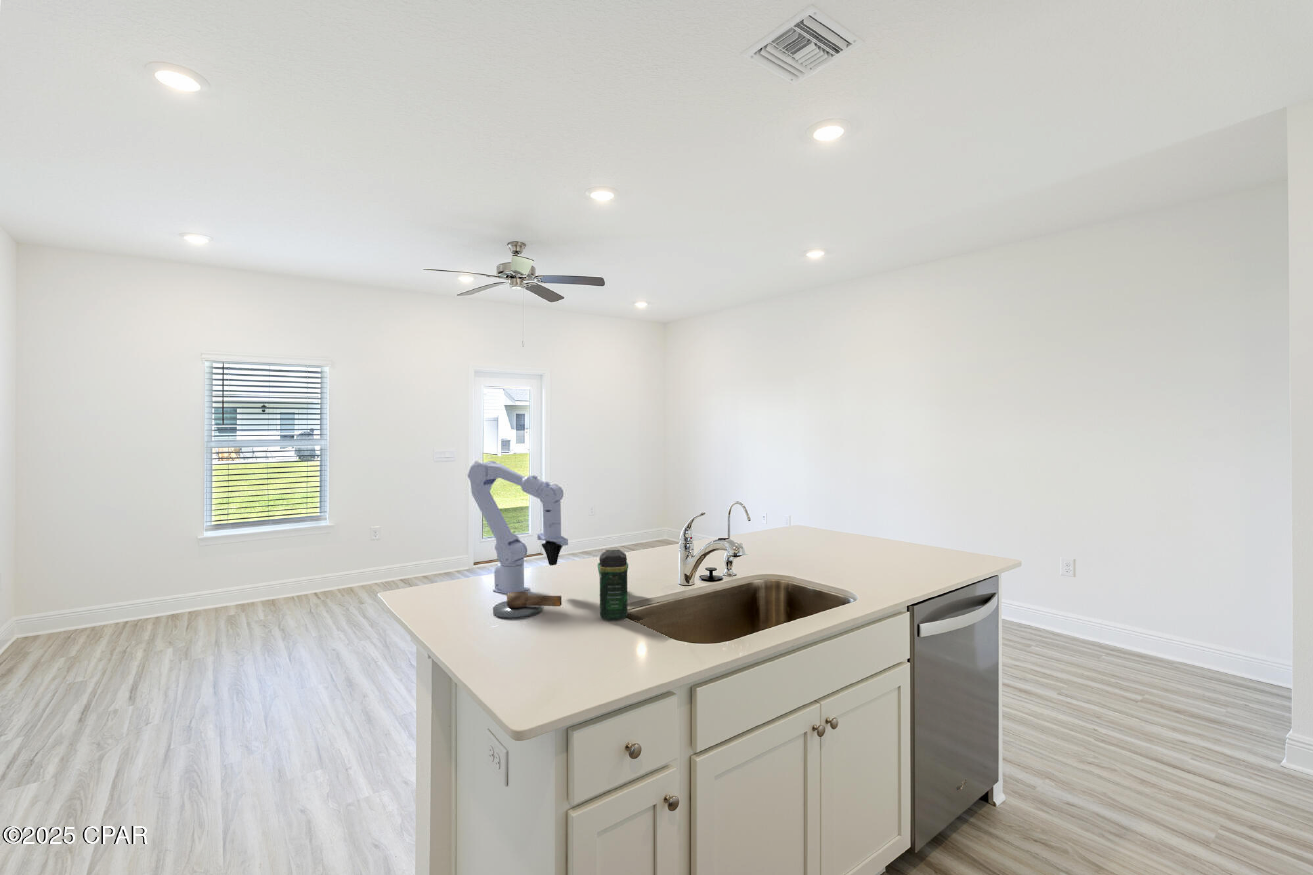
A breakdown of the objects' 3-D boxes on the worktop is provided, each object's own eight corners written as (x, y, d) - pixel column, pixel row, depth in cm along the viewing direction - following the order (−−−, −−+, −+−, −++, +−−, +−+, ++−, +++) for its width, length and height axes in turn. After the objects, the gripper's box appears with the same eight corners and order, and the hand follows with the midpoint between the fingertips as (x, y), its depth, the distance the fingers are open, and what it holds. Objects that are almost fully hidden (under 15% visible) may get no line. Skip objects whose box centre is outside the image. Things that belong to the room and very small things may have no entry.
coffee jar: (628, 621, 164) (627, 554, 164) (599, 622, 164) (598, 555, 163) (627, 610, 174) (626, 547, 173) (600, 611, 173) (599, 547, 173)
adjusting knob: (503, 607, 172) (503, 597, 171) (511, 601, 177) (511, 591, 177) (557, 608, 170) (557, 598, 170) (563, 602, 176) (563, 592, 175)
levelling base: (482, 614, 172) (482, 608, 172) (517, 601, 184) (517, 595, 184) (517, 622, 165) (517, 616, 164) (551, 608, 176) (551, 602, 176)
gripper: (529, 521, 193) (529, 563, 194) (554, 527, 183) (555, 570, 183) (547, 519, 198) (548, 559, 198) (573, 524, 188) (573, 566, 188)
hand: (552, 564), depth 191 cm, fingers closed
